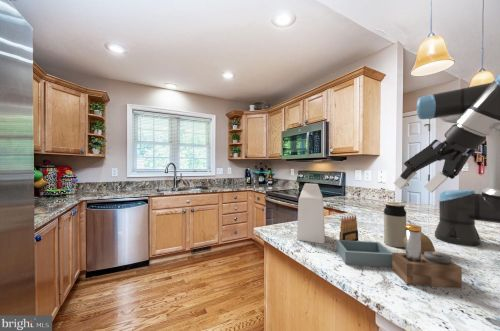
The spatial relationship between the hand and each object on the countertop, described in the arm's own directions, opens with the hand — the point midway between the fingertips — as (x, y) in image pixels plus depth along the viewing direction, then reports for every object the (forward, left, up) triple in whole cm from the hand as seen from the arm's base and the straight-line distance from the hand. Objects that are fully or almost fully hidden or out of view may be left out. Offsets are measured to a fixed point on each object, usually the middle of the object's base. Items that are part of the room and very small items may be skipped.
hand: (413, 187), depth 67 cm
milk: (+28, -30, -28) cm, 49 cm away
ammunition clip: (+12, -26, -28) cm, 40 cm away
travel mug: (-7, -26, -28) cm, 39 cm away
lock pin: (+2, +3, -27) cm, 28 cm away
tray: (+12, -10, -27) cm, 31 cm away
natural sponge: (-8, -12, -28) cm, 31 cm away
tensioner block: (-1, +3, -27) cm, 28 cm away
